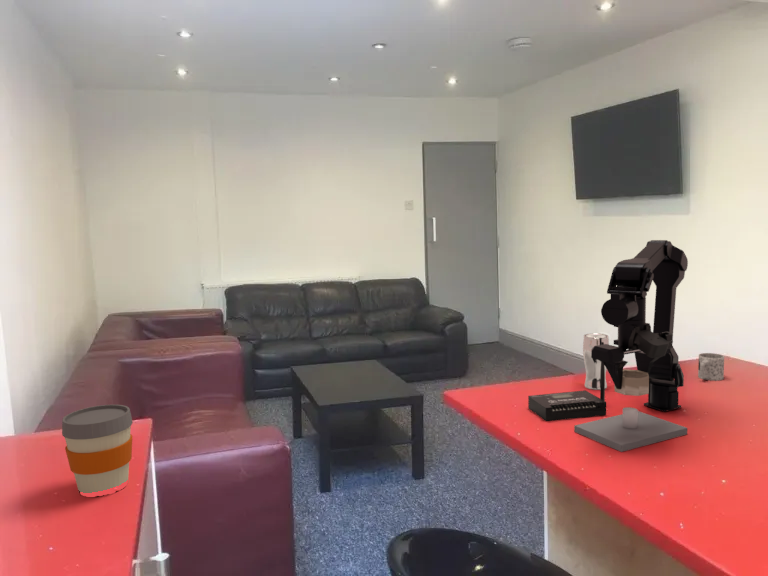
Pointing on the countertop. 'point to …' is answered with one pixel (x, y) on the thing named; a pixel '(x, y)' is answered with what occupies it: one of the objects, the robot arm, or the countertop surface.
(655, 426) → the post board
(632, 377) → the ring
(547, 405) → the wireless controller
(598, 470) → the countertop surface
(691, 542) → the countertop surface
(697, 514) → the countertop surface
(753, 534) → the countertop surface
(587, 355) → the beer glass
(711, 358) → the mug
